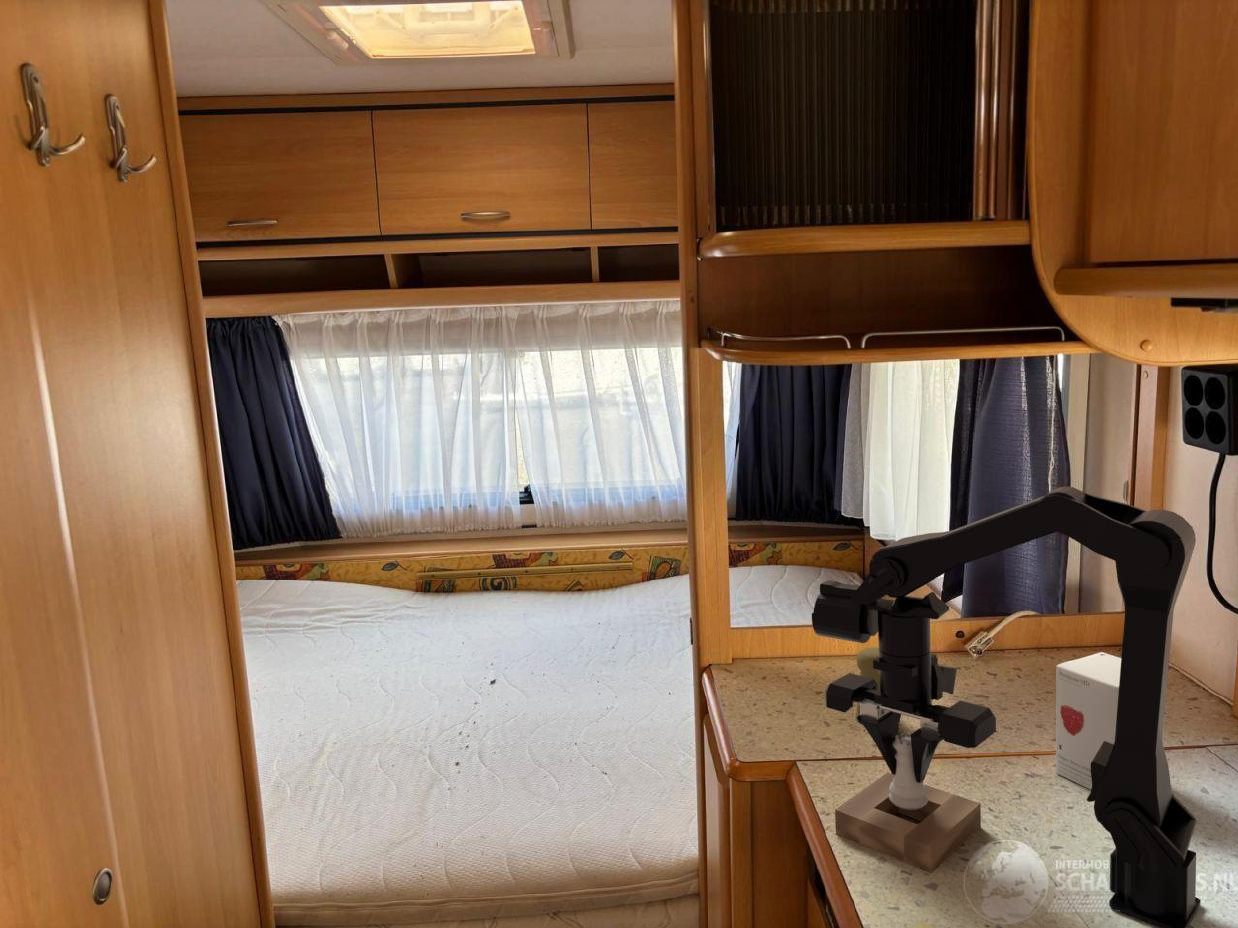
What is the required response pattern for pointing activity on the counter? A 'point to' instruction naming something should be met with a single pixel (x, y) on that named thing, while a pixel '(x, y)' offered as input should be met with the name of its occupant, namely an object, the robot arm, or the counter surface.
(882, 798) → the walnut socket
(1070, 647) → the counter surface
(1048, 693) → the counter surface
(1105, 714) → the supplement box
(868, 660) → the cork
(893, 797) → the rook chess piece
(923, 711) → the robot arm
